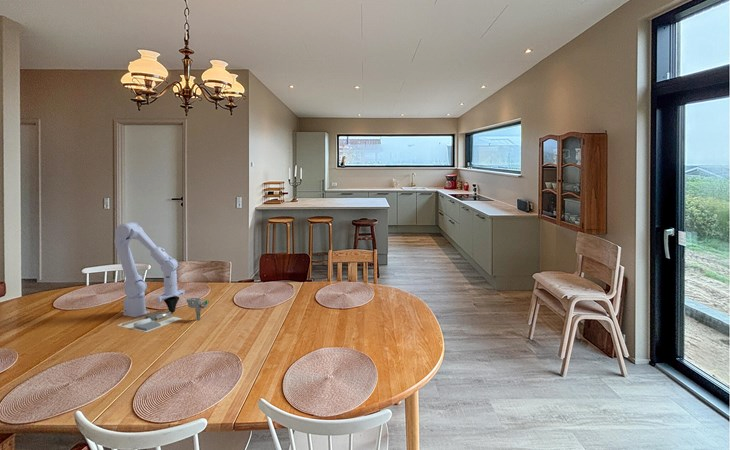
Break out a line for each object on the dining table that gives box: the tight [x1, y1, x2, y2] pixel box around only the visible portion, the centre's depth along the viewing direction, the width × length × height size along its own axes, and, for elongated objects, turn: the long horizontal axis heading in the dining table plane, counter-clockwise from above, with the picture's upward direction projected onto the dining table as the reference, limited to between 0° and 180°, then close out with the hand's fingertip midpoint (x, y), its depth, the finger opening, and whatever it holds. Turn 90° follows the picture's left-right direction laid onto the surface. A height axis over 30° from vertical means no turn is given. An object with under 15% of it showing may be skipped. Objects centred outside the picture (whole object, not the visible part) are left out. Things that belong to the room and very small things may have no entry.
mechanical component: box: [186, 297, 210, 321], centre depth 199 cm, size 3×10×10 cm, turn 78°
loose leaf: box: [146, 310, 173, 320], centre depth 202 cm, size 8×7×2 cm
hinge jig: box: [116, 312, 183, 333], centre depth 196 cm, size 19×19×3 cm
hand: (172, 312), depth 208 cm, fingers closed
